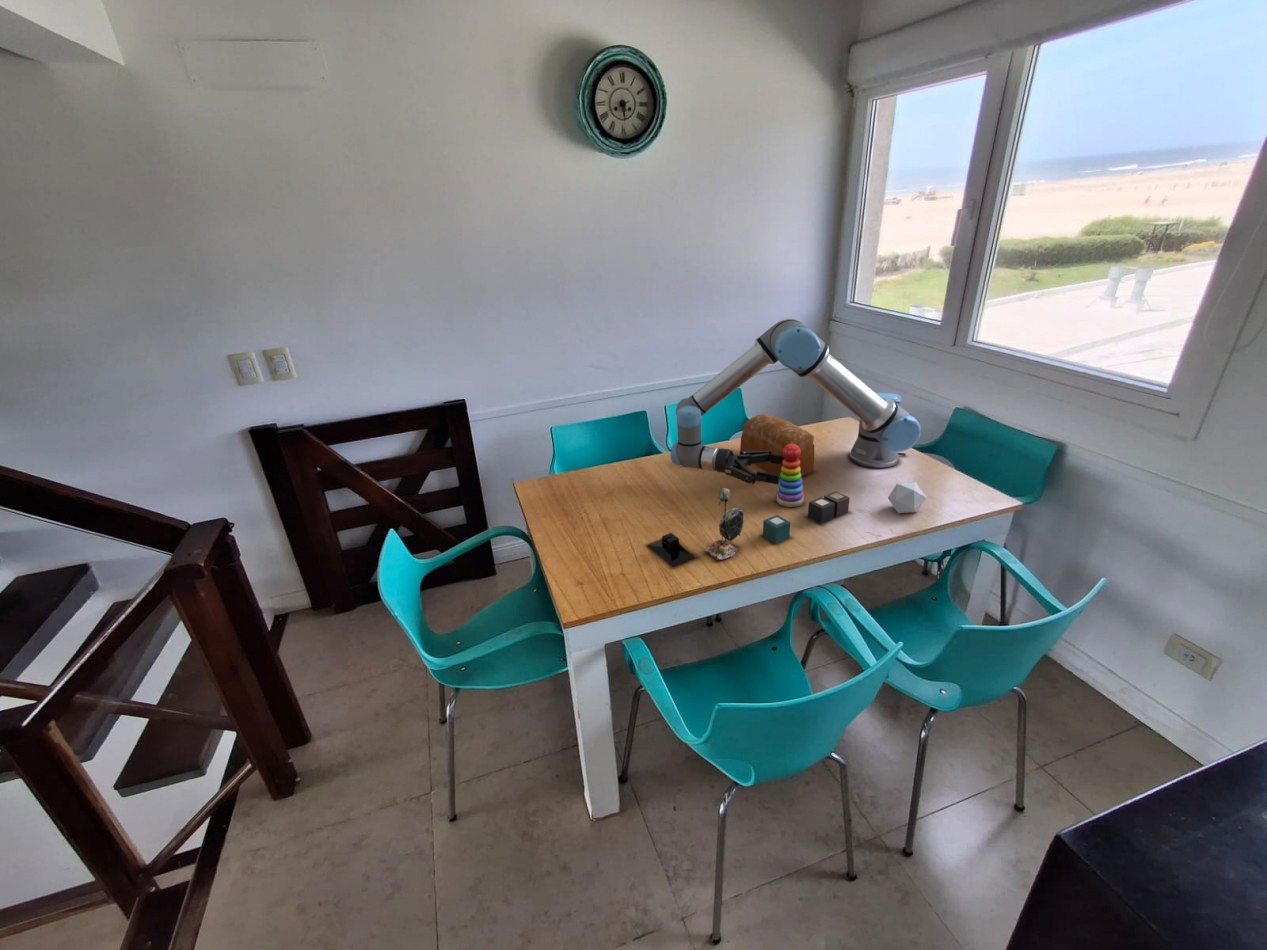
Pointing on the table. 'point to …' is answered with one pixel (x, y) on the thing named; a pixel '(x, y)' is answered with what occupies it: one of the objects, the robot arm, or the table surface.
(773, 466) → the bread
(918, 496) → the die
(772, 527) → the teal block
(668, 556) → the build plate
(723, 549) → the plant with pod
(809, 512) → the charcoal block
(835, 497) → the walnut block
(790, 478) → the stacking toy
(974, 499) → the table surface
